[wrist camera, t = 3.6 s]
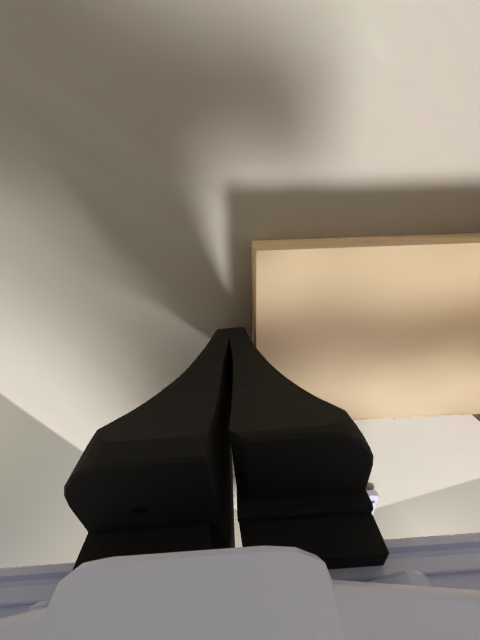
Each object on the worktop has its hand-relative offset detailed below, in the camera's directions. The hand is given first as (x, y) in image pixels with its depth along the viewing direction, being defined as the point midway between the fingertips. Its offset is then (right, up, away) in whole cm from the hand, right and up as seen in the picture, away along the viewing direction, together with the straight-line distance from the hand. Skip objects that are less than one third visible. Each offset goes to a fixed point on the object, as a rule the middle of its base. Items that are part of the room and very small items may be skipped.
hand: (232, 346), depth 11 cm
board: (+7, +1, +1) cm, 8 cm away
